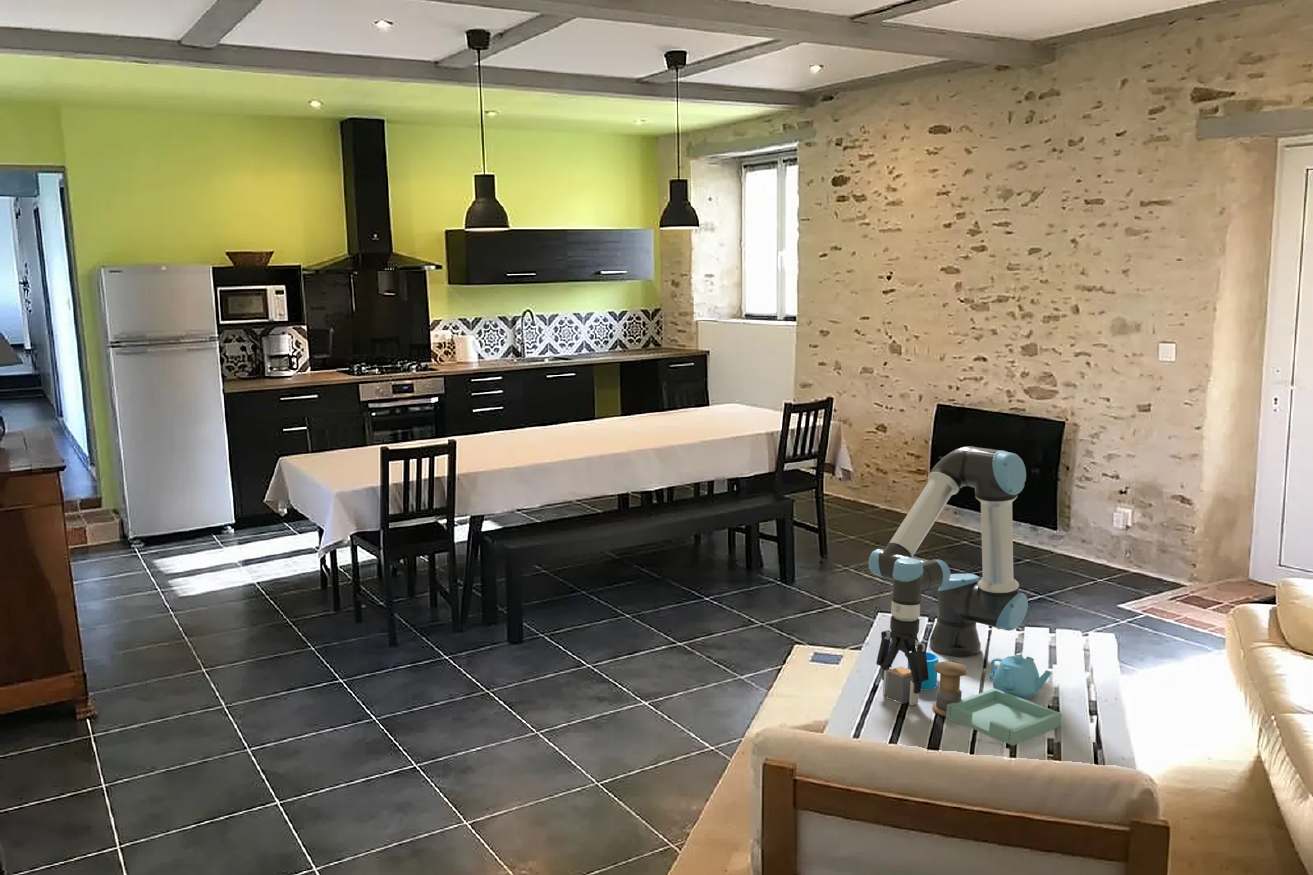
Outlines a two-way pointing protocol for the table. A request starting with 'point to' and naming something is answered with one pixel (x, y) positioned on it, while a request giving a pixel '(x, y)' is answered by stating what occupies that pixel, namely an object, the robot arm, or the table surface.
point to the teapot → (1017, 676)
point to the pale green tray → (1004, 716)
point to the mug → (930, 672)
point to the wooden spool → (948, 685)
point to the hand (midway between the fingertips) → (900, 698)
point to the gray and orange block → (899, 684)
